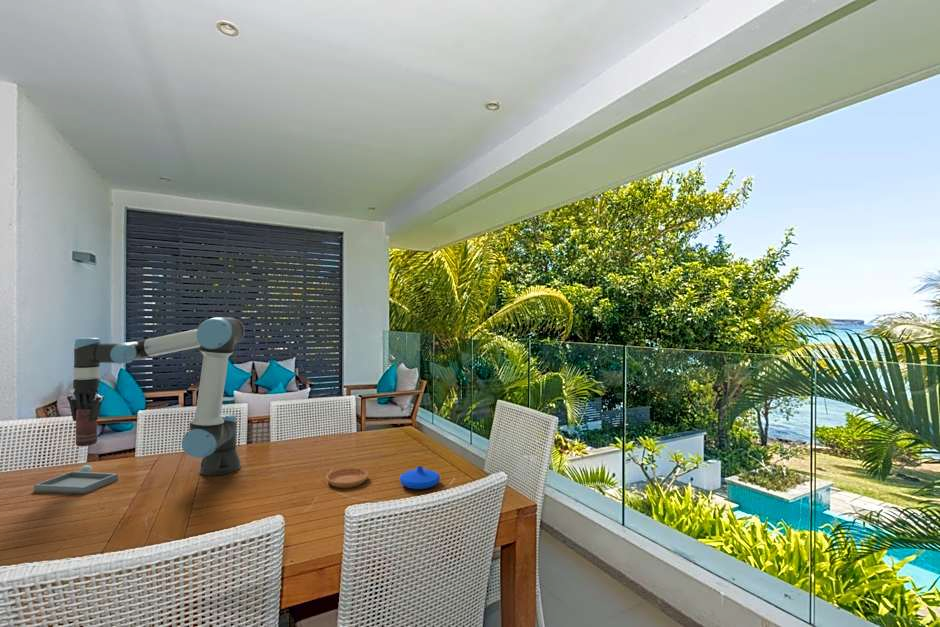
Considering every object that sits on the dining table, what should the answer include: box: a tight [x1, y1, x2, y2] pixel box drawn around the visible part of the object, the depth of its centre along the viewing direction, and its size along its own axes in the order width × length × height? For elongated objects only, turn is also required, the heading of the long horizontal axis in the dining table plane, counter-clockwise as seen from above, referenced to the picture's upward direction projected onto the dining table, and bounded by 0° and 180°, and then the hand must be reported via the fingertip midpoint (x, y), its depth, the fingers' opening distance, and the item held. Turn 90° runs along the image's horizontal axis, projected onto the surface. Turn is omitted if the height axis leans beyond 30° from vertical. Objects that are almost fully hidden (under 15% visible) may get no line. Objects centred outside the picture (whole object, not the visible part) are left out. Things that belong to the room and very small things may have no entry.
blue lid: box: [399, 465, 441, 490], centre depth 173 cm, size 16×16×7 cm
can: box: [75, 409, 98, 447], centre depth 170 cm, size 6×6×14 cm
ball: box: [79, 464, 93, 472], centre depth 181 cm, size 4×4×4 cm
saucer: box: [326, 467, 369, 489], centre depth 176 cm, size 16×16×3 cm
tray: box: [33, 470, 119, 495], centre depth 169 cm, size 20×14×2 cm
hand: (84, 439), depth 170 cm, fingers closed
